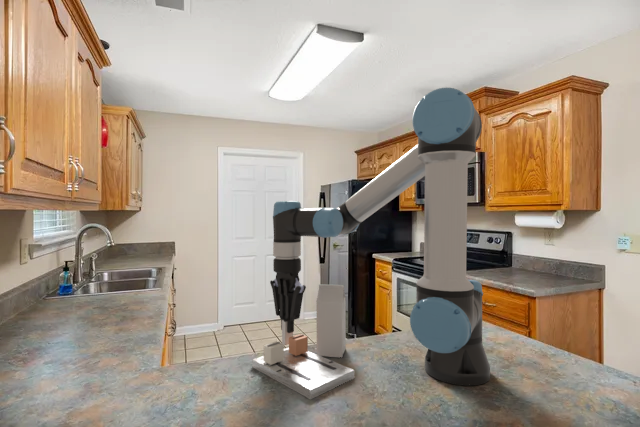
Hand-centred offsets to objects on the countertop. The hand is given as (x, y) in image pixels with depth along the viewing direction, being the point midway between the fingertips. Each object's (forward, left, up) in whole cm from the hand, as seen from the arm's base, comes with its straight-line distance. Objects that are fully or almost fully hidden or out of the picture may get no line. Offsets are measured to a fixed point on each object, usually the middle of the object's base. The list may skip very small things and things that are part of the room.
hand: (287, 343), depth 100 cm
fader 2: (-5, 0, -1) cm, 5 cm away
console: (-11, +4, -4) cm, 12 cm away
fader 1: (-5, +8, -1) cm, 9 cm away
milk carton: (-6, -10, -4) cm, 13 cm away
